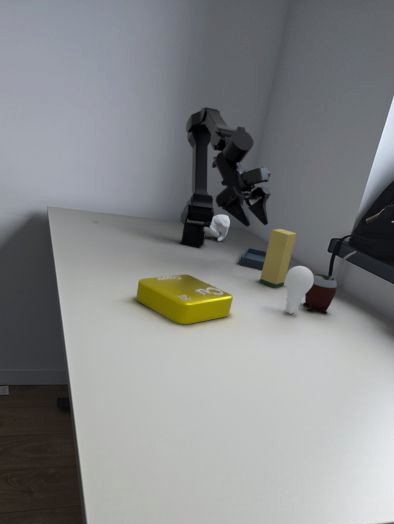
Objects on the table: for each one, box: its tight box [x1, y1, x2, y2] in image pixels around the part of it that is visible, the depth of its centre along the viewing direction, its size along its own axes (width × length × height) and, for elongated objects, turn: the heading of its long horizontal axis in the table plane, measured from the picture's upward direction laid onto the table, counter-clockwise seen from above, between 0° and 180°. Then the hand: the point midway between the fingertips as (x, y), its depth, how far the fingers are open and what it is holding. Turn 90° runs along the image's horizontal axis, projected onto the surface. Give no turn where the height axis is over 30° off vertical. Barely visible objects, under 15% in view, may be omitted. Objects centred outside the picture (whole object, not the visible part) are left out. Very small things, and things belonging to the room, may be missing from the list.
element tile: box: [135, 274, 233, 325], centre depth 101 cm, size 15×15×5 cm
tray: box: [239, 247, 267, 271], centre depth 149 cm, size 13×15×2 cm
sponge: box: [259, 228, 298, 289], centre depth 128 cm, size 5×5×14 cm
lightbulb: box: [284, 265, 314, 315], centre depth 109 cm, size 6×6×11 cm
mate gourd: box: [303, 250, 357, 315], centre depth 114 cm, size 8×8×15 cm
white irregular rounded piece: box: [205, 214, 231, 242], centre depth 169 cm, size 6×8×12 cm
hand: (257, 225), depth 129 cm, fingers open, 9 cm apart
